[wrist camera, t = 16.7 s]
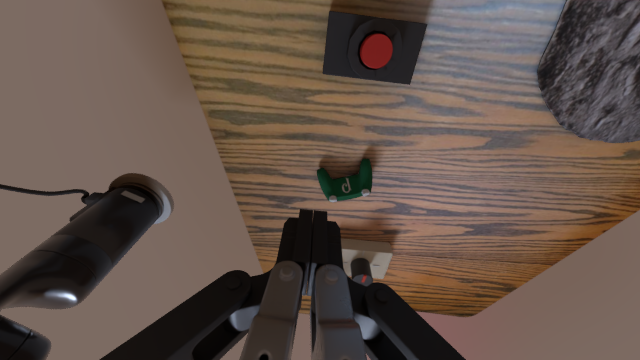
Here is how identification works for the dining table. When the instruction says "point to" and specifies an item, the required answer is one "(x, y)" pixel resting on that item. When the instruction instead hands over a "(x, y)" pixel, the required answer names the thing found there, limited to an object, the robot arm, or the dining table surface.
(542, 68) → the worn metal disc
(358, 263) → the dial
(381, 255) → the stove console
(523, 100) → the dining table surface
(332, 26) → the black switch housing
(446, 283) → the dining table surface
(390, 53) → the button
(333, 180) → the gaming controller
